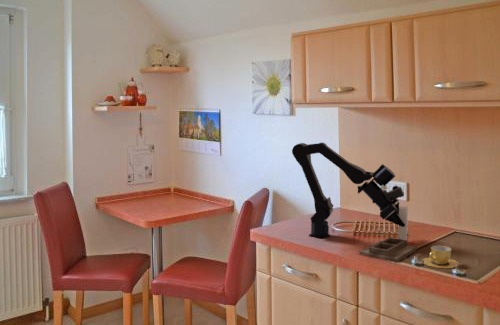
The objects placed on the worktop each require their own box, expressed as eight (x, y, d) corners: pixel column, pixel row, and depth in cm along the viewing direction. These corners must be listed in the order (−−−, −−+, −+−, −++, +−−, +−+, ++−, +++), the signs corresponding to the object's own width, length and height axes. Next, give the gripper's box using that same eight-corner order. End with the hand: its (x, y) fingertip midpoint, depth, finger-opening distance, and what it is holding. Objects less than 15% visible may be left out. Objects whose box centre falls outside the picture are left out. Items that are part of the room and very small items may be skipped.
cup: (439, 256, 181) (439, 241, 181) (467, 266, 171) (468, 250, 170) (414, 261, 176) (414, 246, 175) (441, 271, 165) (442, 255, 165)
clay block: (398, 244, 196) (399, 208, 195) (398, 240, 201) (399, 205, 199) (406, 244, 195) (407, 208, 194) (406, 241, 200) (407, 206, 198)
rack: (359, 254, 183) (359, 245, 183) (381, 243, 197) (381, 235, 197) (396, 262, 174) (396, 253, 174) (416, 250, 188) (417, 241, 188)
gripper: (389, 183, 188) (420, 215, 186) (393, 176, 205) (421, 205, 203) (367, 203, 192) (397, 234, 189) (373, 194, 209) (400, 223, 207)
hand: (404, 223), depth 197 cm, fingers open, 9 cm apart
